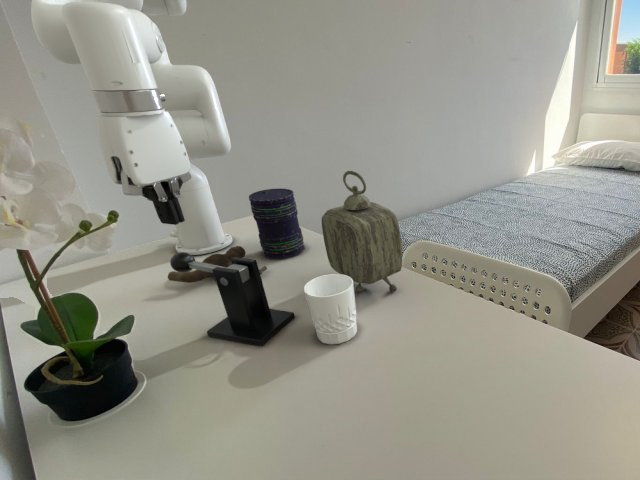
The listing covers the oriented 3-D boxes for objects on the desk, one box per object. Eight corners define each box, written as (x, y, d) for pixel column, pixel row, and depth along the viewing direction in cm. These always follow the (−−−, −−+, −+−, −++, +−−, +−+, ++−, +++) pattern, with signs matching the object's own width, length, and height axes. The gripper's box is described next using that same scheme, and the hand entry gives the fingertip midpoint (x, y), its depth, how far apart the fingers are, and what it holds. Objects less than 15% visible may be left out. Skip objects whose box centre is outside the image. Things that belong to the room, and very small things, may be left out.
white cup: (369, 332, 74) (362, 284, 69) (328, 353, 68) (318, 302, 64) (345, 315, 78) (337, 269, 74) (306, 333, 73) (295, 285, 69)
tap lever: (168, 274, 71) (162, 255, 70) (186, 265, 75) (180, 247, 73) (238, 289, 69) (234, 270, 67) (254, 279, 72) (250, 261, 70)
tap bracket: (208, 336, 72) (184, 272, 66) (245, 309, 80) (227, 250, 74) (262, 346, 70) (242, 280, 64) (295, 317, 78) (280, 256, 72)
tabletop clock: (405, 291, 87) (395, 173, 75) (370, 309, 81) (353, 183, 69) (364, 270, 95) (349, 161, 84) (329, 285, 89) (308, 170, 77)
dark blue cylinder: (313, 248, 106) (302, 192, 99) (279, 263, 98) (265, 203, 91) (289, 240, 110) (276, 186, 103) (254, 254, 103) (239, 196, 96)
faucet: (223, 257, 101) (283, 267, 100) (170, 288, 85) (239, 299, 85) (221, 239, 99) (281, 249, 98) (165, 267, 83) (236, 279, 83)
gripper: (157, 99, 67) (192, 207, 75) (53, 107, 54) (109, 237, 62) (195, 100, 65) (227, 210, 74) (97, 109, 52) (149, 241, 61)
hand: (173, 222), depth 68 cm, fingers closed
